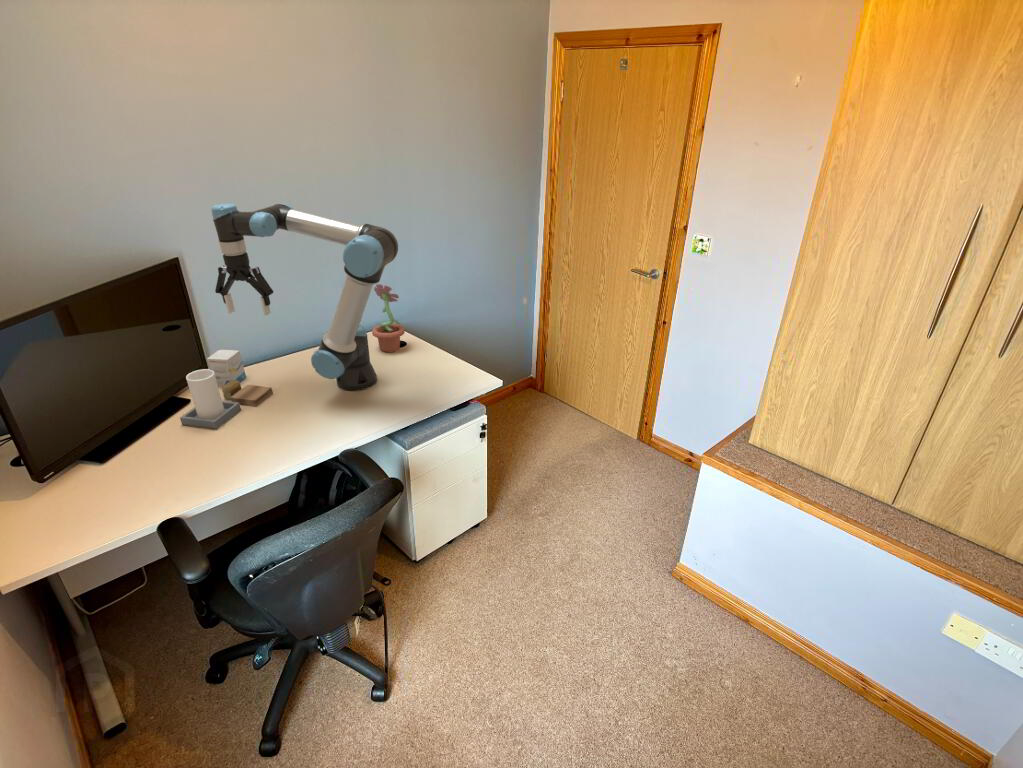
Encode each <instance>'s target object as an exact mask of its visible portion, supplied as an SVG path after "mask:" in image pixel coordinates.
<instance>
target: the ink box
mask: <svg viewBox="0 0 1023 768" xmlns="http://www.w3.org/2000/svg"><path fill="white" fill-rule="evenodd" d="M206 360H207V364H208V369H209V370H212V371H213V372H214V374H215V378H216V381H217V385H218V387H223V386H224V385H225V384H227V383H228V382H230V381H231V380H239V381H240V383H241V382H242V381H244V380H245V378H247V375H246V372H245V366H244V363H243V359H242V355H241V352H240V350H234V349H218V350H217V351H215V352H214V353H212V354H211V355H209V357H207V358H206Z"/></svg>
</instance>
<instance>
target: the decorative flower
mask: <svg viewBox="0 0 1023 768" xmlns="http://www.w3.org/2000/svg"><path fill="white" fill-rule="evenodd" d="M392 289H393V288H392V287H391V286H388V285H383V284H382V283H377V284H375V286H374V288H373V290H374V292H375V294H376V296H378V297H379V299H381V300H382V301H384V307H383V308H382V313H385V312H386V314H387V316H388V318H389V320H388V321H385V322H381V323H377V322H376V324H378V325H376V326H374V327H373V328H372V331H371V334H372V336H373V337H375V338H376V339H377V340H378V342H377V343H378V347H379V349H380V351H382V352H385V353H393V352H396V351H398V350H399V349H400V346H401V337H403V336H404V334H405V328H404V326H402V325H401V323H400V322H399V321H398V320H397V319H395V318H394V316H393V313H392V311H391V308H390V303H393V302H395V303H396V302H398V299H399V298H400V297H399V295H398V294H397V293H391V291H392Z"/></svg>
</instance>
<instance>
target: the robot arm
mask: <svg viewBox="0 0 1023 768" xmlns="http://www.w3.org/2000/svg"><path fill="white" fill-rule="evenodd" d="M210 209H211V215H212V221H213V224H214V227H215V230H216V233H217V238H218V243H219V247H220V250H221V253H222V254H223V255H222V259H223V263H224V265H221V266H218V268H217V270H218V271H217V272H218V276H217V280H216V285H215V291H214V292H215V293H216V294H220V295H221V297H222V301H223V303H224V304H225V305H226V309H227V313H228V314H229V315H230V314H232V313H234V312H236V309H235V306H234V302H233V298H232V297H233V296H232V294H231V293H230V290H231V288H232V286H233V285H234V282H235V281H237V282H238V281H241V282H246V283H247V284H249V285H250V286H251V287H252V288H253V289H254V290H255V291H256V292H257V293H258V294H260V295H261V297H260V302H261V307H262V310H263V311H262V312H263V314H264V315H263V316H268V315H270V314H271V308H270V305H271V299H270V296H271V295H273V294H274V290H273V288H272V287H271V285H270V284H269V282H268V281H267V280H266V278H265V277H264V276H263V274H262V272H261V270H260V267H259V266H255V267H252V268H251V266H250V259H249V255H248V252H247V246H246V242H245V237H258V238H265V237H266V238H267V237H273V236H274V235H275V233H276V231H277V230H284V231H287V232H292V233H297V234H300V235H302V236H303V235H304V236H308V237H312V238H315V239H319V240H323V241H327V242H332V243H335V244H340V245H344V249H343V252H342V253H343V254H342V261H343V263H344V267H343V272H344V273H345V275H346V277H345V280H344V284H343V287H342V289H341V293H340V296H339V300H338V303H337V306H336V309H335V311H334V315H333V318H332V322H331V326H330V328H329V331H328V332H326V333H324V334H323V335H322V337H321V341H320V343H319V346H318V347H319V348H318V349H317V350H315V351H313V354H312V356H311V358H310V361H311V365H312V368H313V369H314V370H315V373H317V374H318V375H319V376H321V377H323V378H325V379H328V380H335V379H336V385H337V387H338V388H340V389H342V390H344V391H349V392H352V391H353V392H357V391H363V390H366V389H369V388H371V387H373V386H374V385H375V384H376V383H377V382H378V376H377V373H376V371H375V369H374V366H373V365H372V362H371V358H370V348H369V338H368V333H367V328H365V327H364V325H360V324H361V322H362V318H363V315H364V312H365V309H366V307H367V303H368V300H369V297H370V296H371V295H370V294H371V292H372V289H373V286H374V285H377V284H379V282H380V281H381V278H382V276H383V273H384V269H385V267H386V266H387V265H388V264H390V263H391V262H393V261H394V260H395V259H396V257H397V254H398V252H399V243H398V242H399V241H398V240H397V238H396V236H395V234H394V233H392V232H391V231H390V230H388V229H386V228H385V227H381V226H378V225H373V224H368V223H363V224H362V225H361V224H360V225H359V224H356V223H352V222H348V221H344V220H338V219H335V218H332V217H327V216H323V215H319V214H315V213H310V212H306V211H302V210H298V209H294V207H292V206H291V205H289V204H288V203H284V202H283V203H275V204H274V205H271V206H268V207H264V208H261V209H257V210H254V211H239V210H238V208H237V205H236V204H233V203H221V204H220V203H218V204H215V205H213V206H212V207H211V208H210ZM244 236H245V237H244ZM227 274H228V275H229V276H228V277H227ZM226 277H227V281H226ZM225 281H226V283H225Z"/></svg>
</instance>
